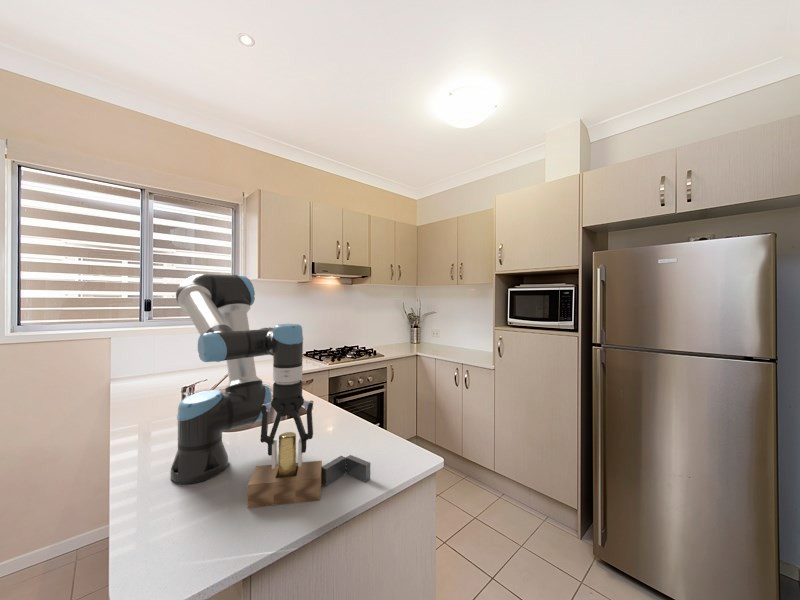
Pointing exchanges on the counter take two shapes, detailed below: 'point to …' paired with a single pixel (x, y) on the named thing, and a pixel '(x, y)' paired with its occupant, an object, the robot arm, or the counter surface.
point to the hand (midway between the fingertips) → (287, 464)
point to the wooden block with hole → (284, 485)
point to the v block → (345, 469)
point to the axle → (287, 455)
